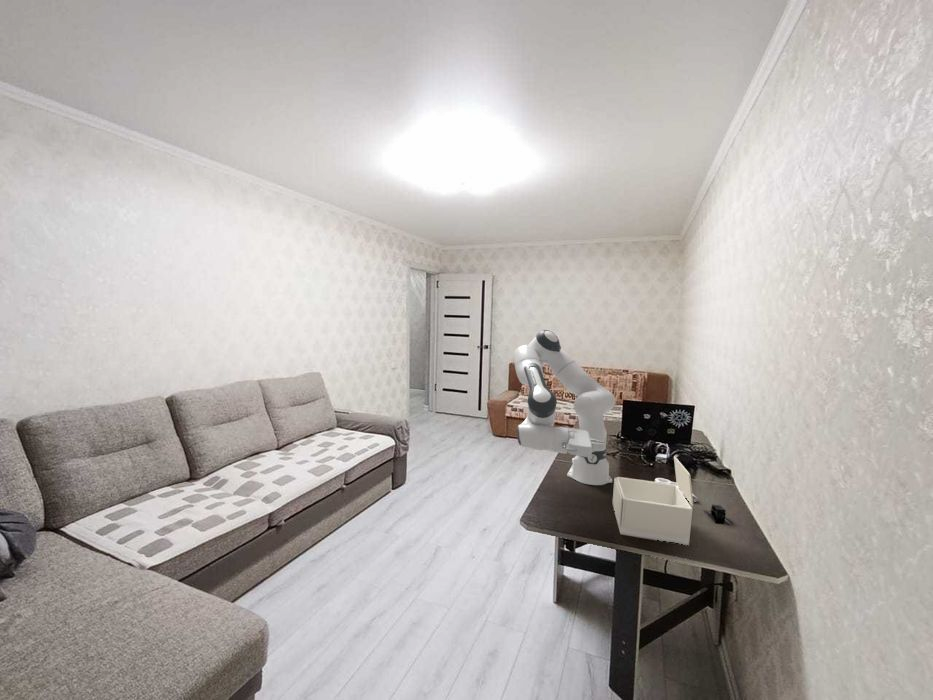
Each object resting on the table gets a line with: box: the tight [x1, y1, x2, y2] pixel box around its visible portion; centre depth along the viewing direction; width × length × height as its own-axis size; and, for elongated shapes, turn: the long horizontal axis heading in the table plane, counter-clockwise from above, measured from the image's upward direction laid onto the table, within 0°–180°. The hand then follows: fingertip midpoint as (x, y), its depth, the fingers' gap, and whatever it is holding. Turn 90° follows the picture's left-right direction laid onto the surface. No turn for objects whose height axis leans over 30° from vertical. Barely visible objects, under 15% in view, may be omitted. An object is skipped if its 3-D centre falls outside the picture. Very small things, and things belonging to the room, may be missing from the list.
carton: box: [612, 476, 693, 547], centre depth 133 cm, size 19×21×12 cm
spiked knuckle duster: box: [654, 477, 698, 503], centre depth 160 cm, size 3×18×15 cm
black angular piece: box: [704, 504, 732, 526], centre depth 141 cm, size 12×7×5 cm, turn 171°
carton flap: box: [673, 456, 694, 507], centre depth 130 cm, size 17×10×1 cm
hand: (604, 445), depth 135 cm, fingers closed
